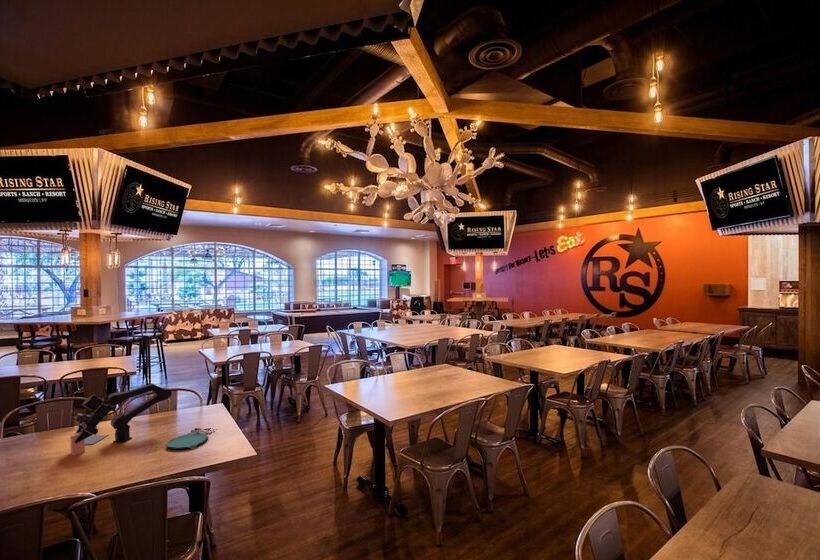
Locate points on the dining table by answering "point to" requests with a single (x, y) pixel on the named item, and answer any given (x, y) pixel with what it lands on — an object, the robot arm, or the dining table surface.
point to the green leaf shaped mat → (188, 440)
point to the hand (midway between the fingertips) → (74, 441)
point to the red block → (77, 444)
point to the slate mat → (94, 439)
